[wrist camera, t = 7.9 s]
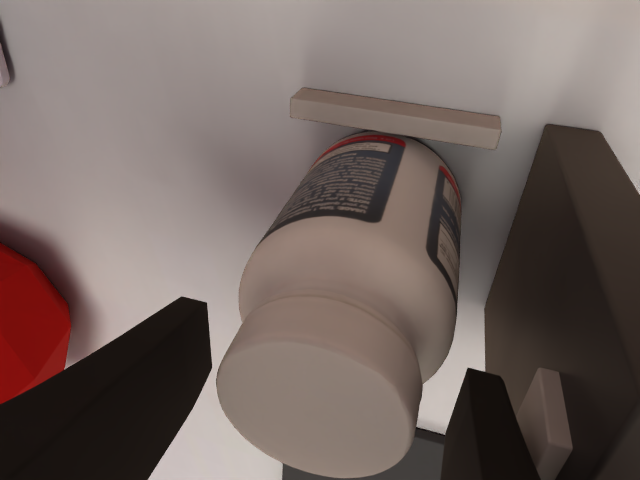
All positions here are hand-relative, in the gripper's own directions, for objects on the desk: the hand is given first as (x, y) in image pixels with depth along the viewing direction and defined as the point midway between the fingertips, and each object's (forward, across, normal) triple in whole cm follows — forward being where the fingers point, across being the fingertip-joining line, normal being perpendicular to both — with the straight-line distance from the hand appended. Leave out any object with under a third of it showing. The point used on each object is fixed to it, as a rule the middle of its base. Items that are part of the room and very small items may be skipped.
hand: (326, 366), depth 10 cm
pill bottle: (+8, 0, 0) cm, 8 cm away
